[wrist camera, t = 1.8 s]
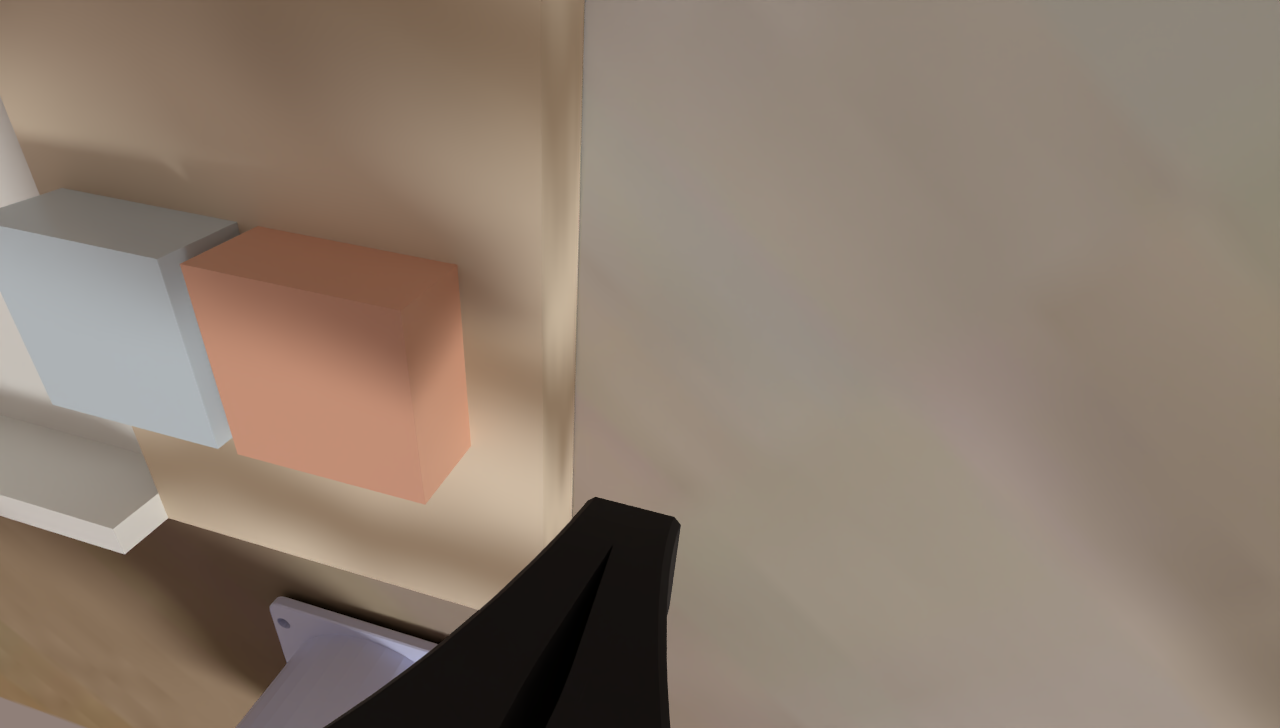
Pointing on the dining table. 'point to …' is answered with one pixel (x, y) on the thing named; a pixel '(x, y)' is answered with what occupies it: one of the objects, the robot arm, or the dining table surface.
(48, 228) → the blue tile
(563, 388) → the birch plate
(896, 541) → the dining table surface
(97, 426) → the box
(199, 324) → the terracotta tile
